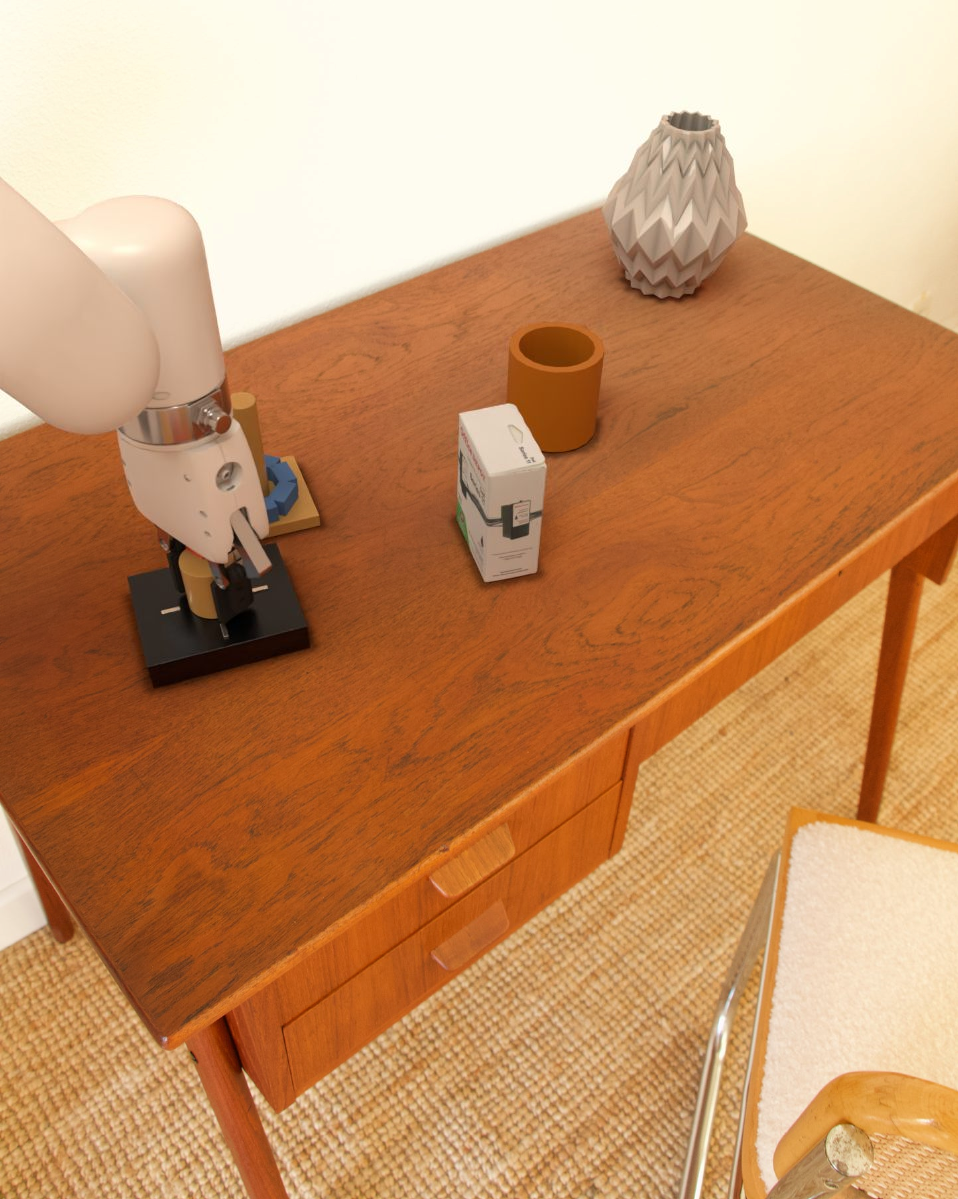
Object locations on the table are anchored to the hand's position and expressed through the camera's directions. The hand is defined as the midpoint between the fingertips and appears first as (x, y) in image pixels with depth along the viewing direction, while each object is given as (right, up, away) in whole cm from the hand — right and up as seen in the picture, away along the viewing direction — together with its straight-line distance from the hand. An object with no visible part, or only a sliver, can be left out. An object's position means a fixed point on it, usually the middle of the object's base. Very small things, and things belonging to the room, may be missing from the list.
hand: (214, 595), depth 79 cm
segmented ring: (0, +9, +11) cm, 14 cm away
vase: (+42, +37, +43) cm, 71 cm away
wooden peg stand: (+1, +8, +12) cm, 15 cm away
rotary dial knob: (0, 0, 0) cm, 1 cm away
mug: (+28, +17, +23) cm, 40 cm away
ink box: (+22, +4, +10) cm, 24 cm away
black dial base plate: (0, -2, +2) cm, 3 cm away
